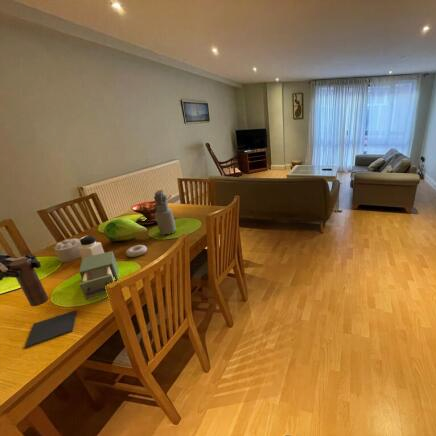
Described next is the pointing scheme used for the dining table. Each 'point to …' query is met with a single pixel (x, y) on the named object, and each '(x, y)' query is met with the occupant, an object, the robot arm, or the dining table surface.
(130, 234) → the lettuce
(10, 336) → the dining table surface
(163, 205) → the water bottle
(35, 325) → the mat
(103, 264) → the cabinet
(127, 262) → the dining table surface
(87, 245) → the medicine bottle
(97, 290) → the drawer
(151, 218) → the red decorative bowl
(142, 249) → the donut
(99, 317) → the dining table surface
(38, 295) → the pepper mill
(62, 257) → the lumpy-topped squat cylinder
